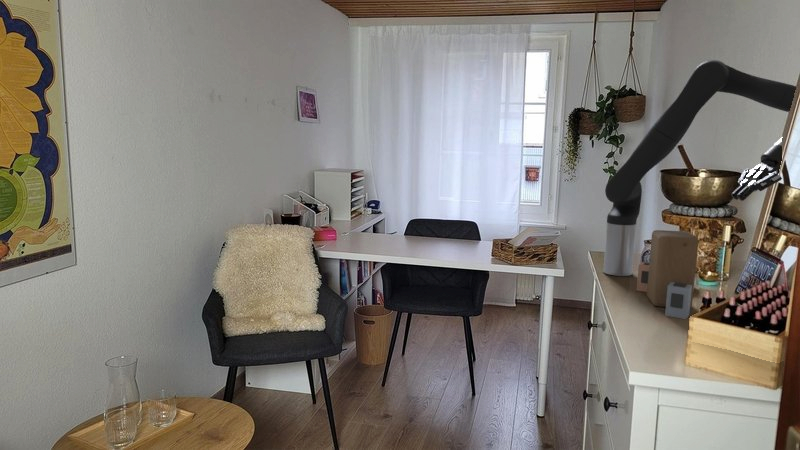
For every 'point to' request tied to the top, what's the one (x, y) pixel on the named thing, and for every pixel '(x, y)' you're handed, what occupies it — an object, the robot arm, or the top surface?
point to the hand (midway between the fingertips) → (736, 197)
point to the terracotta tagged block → (643, 276)
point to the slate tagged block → (678, 300)
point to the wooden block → (671, 263)
